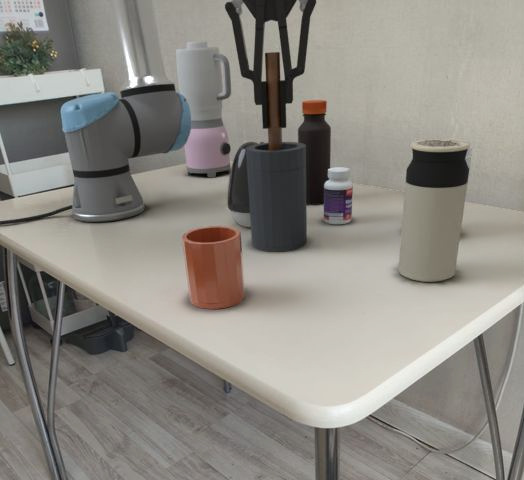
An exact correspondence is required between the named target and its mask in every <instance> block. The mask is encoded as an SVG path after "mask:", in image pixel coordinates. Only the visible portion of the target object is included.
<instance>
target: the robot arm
mask: <svg viewBox="0 0 524 480" xmlns="http://www.w3.org/2000/svg"><path fill="white" fill-rule="evenodd" d="M297 1H298V2H299V8H298V9H299V11H300V12H301V13H302V15H301V22H300V32H299V40H298V52H297V62H296V67H293V66H292V58H291V49H290V48H291V47H290V40H289V31H288V23H287V22H288V21H287V18H288V17H289V15H290V14H291V11H292V10H293V8H294V6H295V5H296V3H297ZM107 2H108V6H109V10H110V15H111V21H112V25H113V29H114V33H115V35H114V36H115V40H116V44H117V49H118V55H119V58H120V64H121V67H122V68H121V69H122V73H123V77H124V82H123V84H122V85H121V87H120V89H119V93H120V97H119V96H118V94H117V93H116V92H113V91H107V92H100V93H96V94H95V93H94V94H89V95H85V96H80V97H77V98H74V99H71V100H68V101H66V102H64V103H63V104H62V106H61V108H60V117H61V126H62V132H63V133H64V138H65V142H66V147H67V152H68V156H69V161H70V166H71V169H72V175H73V180H74V182H73V183H74V184H73V191H72V192H73V193H72V202H71V204H69V205H67V206H64V207H61V208H58V209H55V210H53V211H49V212H46V213H42V214H41V213H40V214H38V215H37V214H36V215H33V216H28V217H27V216H26V217H21V218H15V219H14V218H13V219H6V220H5V219H4V220H0V226H2V225H12V224H18V223H24V222H30V221H31V222H32V221H35V220H41V219H44V218H48V217H51V216H55V215H58V214H60V213H63V212H67V211H69V210H72V216H73V218H74V219H75V220H77V221H80V222H85V223H105V222H114V221H120V220H124V219H128V218H132V217H135V216H138V215H140V214H141V213H143V212H144V211H145V210H146V209H145V202H144V199H143V197H142V194H141V192H140V190H139V188H138V187H137V185H136V183H135V180H134V178H133V176H132V174H131V169H130V163H129V162H130V161H129V160H130V159H134V158H135V159H136V158H140V157H141V158H142V157H147V156H154V155H160V154H169V153H171V152H174V151H178V150H181V149H182V148H184V145H185V144H186V142H187V141H188V137H189V135H190V131H191V112H190V107H189V104H188V103H187V102H186V98H185V97H184V96H183V95H182V94H180V92H177V91H176V85H175V82H174V81H173V80H171V79H170V78H169V77H168V75H166V69H165V65H164V59H163V54H162V47H161V42H160V37H159V32H158V26H157V20H156V14H155V10H154V3H153V0H107ZM243 5H245V7H246V8H247V9H248V11H249V13H250V14H251V15H252V17H253V18H254V19H255V23H254V24H255V25H254V48H253V68H252V69H253V70H252V69H250V63H249V58H248V51H247V46H246V40H245V39H246V38H245V35H244V29H243V23H242V19H241V16H242V15H243ZM316 5H317V0H231V1H227V2H225V4H224V9H225V12H226V14H227V15H228V17H229V19H230V21H231V25H232V32H233V37H234V42H235V43H234V44H235V48H236V54H237V60H238V65H239V72H240V75H241V77H242V78H244V79H247V80H250V81H251V82H252V85H253V102H254V104H255V106H261V119H262V129H263V130H265V129H266V130H268V117H267V91H266V80H264V81H263V65H264V64H263V63H264V62H263V61H264V43H265V31H266V30H265V29H266V23H267V22H270V21H273V22H277V28H278V36H279V42H280V52H281V59H282V67H283V76H284V79H283V80H282V79H280V100H281V128H282V129H287V104H289V105H290V104H293V102H294V80H295V78H298V77H300V76H303V75H304V73H305V72H306V71H305V69H306V62H307V54H308V53H307V51H308V43H309V33H310V24H311V16H312V14H313V12H314V10H315V7H316Z"/></svg>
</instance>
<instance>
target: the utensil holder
mask: <svg viewBox="0 0 524 480" xmlns="http://www.w3.org/2000/svg"><path fill="white" fill-rule="evenodd" d="M246 159H247V175H248V191H249V207H250V223H251V228H250V237H251V239H250V240H251V245H252V247H253V248H255V249H256V250H258V251H264V252H274V253H279V252H281V253H282V252H290V251H295V250H298V249H300V248H303V247H304V246H306V244H307V243H308V241H307V240H308V239H307V238H308V237H307V234H308V233H307V232H308V231H307V229H308V227H307V225H308V223H307V204H306V145H305V144H303V143H298V141H282V150H269V145H268V142H264V143H261V144H260V143H259V144H255V145H251V146H249V147H247V148H246Z"/></svg>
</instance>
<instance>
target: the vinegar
mask: <svg viewBox="0 0 524 480" xmlns="http://www.w3.org/2000/svg"><path fill="white" fill-rule="evenodd" d="M327 103H328V102H327V100H323V99H312V100H304V101H302V102H301V107H302V108H301V111H302V113H301V114H302V117H303V122H302V123H301V124H300V125H299V127H298V129H297V142H298V143H303V144H305V145H306V205H321V204H324V184H325V182H326V181H328V180H329V178H328V169H330V168H331V152H332V151H331V149H332V148H331V147H332V146H331V145H332V144H331V142H332V139H331V137H332V127H331V125H330V124H329V123H328V122H327V121H326V115H327Z"/></svg>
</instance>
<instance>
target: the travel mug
mask: <svg viewBox="0 0 524 480" xmlns="http://www.w3.org/2000/svg"><path fill="white" fill-rule="evenodd" d="M471 145H472V144H471V142H469V141H468V140H463V139H457V138H428V139H419V140H416V141H413V142H411V143H410V149H411V150H412V151H411V152H413V159H412V161H411V160H410V162H409V164H408V166H407V168H406V173H405V185H404V197H403V210H402V219H401V233H400V246H399V255H398V256H399V257H398V269H397V270H398V273H399V274H400V275H402V276H403V277H404V278H407V279H409V280H412V281H417V282H424V283H435V282H442V281H445V280H448V279H451V278H452V277H454V276H455V274H456V270H457V269H456V268H457V261H458V255H459V248H460V247H459V246H460V240H461V233H462V227H463V226H462V225H463V220H464V219H463V218H464V210H465V205H466V197H467V191H468V184H469V177H470V171H469V168H468V165H467V162H466V160H465V158H466V154H467V151H468V148H470V146H471ZM468 176H469V177H468ZM467 183H468V184H467ZM466 190H467V191H466Z"/></svg>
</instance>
